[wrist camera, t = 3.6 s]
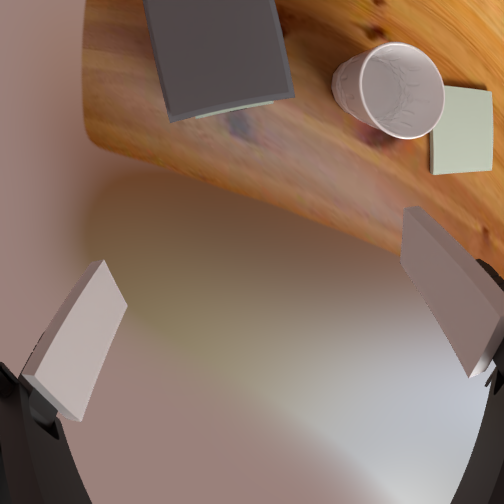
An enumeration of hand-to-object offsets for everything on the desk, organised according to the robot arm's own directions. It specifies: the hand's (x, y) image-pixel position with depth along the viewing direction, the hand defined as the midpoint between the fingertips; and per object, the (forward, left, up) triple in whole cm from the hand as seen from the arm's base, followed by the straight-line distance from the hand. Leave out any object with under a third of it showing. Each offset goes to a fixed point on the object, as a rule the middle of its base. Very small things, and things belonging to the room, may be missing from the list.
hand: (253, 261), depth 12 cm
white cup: (-6, +13, -21) cm, 25 cm away
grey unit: (-11, 0, -21) cm, 23 cm away
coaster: (-1, +27, -21) cm, 34 cm away
